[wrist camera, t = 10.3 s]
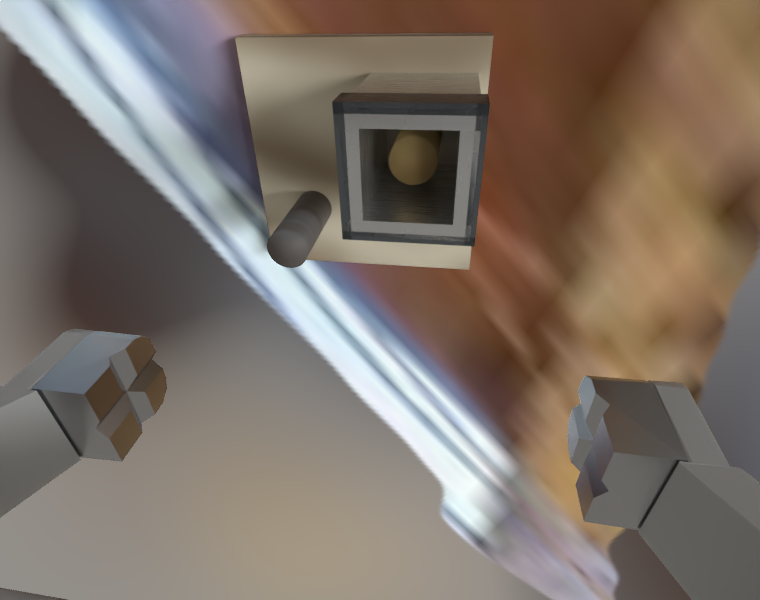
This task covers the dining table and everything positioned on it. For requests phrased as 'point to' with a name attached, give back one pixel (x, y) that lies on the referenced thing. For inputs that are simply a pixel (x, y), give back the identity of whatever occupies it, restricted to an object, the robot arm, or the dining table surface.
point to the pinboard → (317, 138)
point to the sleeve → (372, 172)
